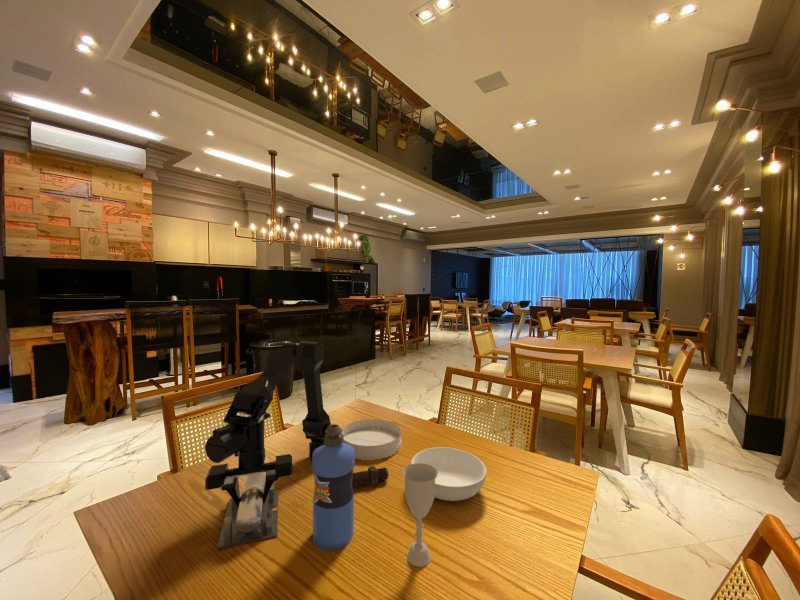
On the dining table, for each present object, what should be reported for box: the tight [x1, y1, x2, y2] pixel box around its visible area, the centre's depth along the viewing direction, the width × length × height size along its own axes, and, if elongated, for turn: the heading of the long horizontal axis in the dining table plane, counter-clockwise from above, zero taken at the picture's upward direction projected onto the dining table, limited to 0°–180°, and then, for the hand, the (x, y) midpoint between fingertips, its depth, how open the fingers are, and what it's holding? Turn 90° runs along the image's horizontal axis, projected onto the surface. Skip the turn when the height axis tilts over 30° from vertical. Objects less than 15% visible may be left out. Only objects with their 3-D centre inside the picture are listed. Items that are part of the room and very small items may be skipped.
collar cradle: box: [216, 482, 279, 551], centre depth 78 cm, size 12×17×4 cm
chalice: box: [402, 463, 438, 568], centre depth 67 cm, size 7×7×18 cm
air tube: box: [236, 472, 266, 533], centre depth 78 cm, size 5×16×5 cm, turn 20°
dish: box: [341, 419, 402, 461], centre depth 116 cm, size 22×22×5 cm
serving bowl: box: [410, 446, 487, 502], centre depth 91 cm, size 21×21×7 cm
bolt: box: [352, 465, 390, 487], centre depth 92 cm, size 6×5×15 cm
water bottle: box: [311, 423, 356, 551], centre depth 73 cm, size 9×9×25 cm
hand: (251, 504), depth 78 cm, fingers closed on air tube, 5 cm apart
